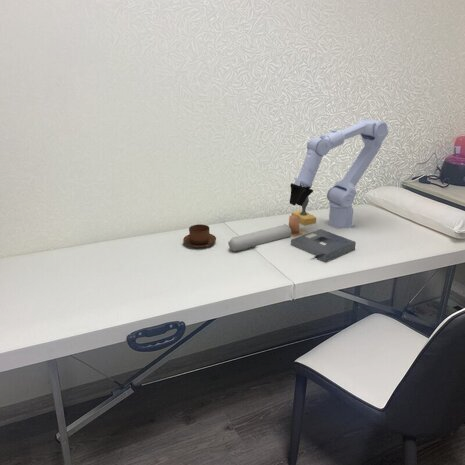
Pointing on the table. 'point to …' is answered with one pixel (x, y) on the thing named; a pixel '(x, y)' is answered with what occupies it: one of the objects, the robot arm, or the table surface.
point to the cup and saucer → (199, 236)
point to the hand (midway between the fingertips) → (295, 204)
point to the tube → (259, 237)
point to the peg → (294, 223)
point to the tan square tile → (298, 233)
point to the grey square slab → (324, 252)
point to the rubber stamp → (305, 215)
